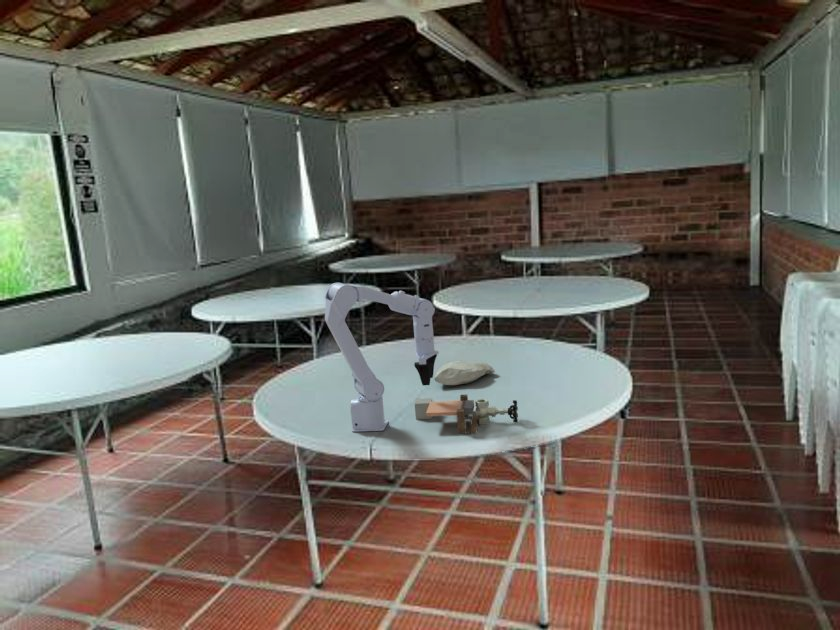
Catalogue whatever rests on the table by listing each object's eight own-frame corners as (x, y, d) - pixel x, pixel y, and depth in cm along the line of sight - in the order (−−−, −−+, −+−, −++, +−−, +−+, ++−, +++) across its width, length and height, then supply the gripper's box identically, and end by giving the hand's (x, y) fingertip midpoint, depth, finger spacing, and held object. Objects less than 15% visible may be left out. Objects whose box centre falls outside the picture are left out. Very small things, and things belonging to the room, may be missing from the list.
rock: (499, 359, 238) (459, 368, 219) (500, 379, 239) (459, 389, 220) (457, 356, 251) (415, 364, 231) (457, 375, 251) (415, 384, 232)
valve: (474, 426, 188) (516, 426, 186) (473, 404, 187) (515, 404, 184) (477, 418, 195) (518, 418, 192) (476, 397, 193) (517, 396, 191)
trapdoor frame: (458, 433, 183) (456, 411, 182) (462, 415, 198) (460, 394, 197) (476, 433, 183) (474, 410, 181) (478, 414, 197) (477, 394, 196)
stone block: (415, 419, 198) (414, 403, 197) (418, 414, 203) (416, 398, 202) (431, 419, 198) (430, 403, 197) (433, 413, 202) (432, 398, 201)
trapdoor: (426, 418, 187) (425, 411, 186) (430, 406, 196) (430, 400, 196) (472, 416, 185) (471, 409, 184) (474, 404, 194) (473, 398, 194)
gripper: (434, 342, 190) (438, 387, 192) (439, 332, 204) (443, 374, 207) (410, 344, 191) (414, 388, 194) (417, 333, 205) (421, 375, 208)
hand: (427, 381), depth 200 cm, fingers open, 7 cm apart
